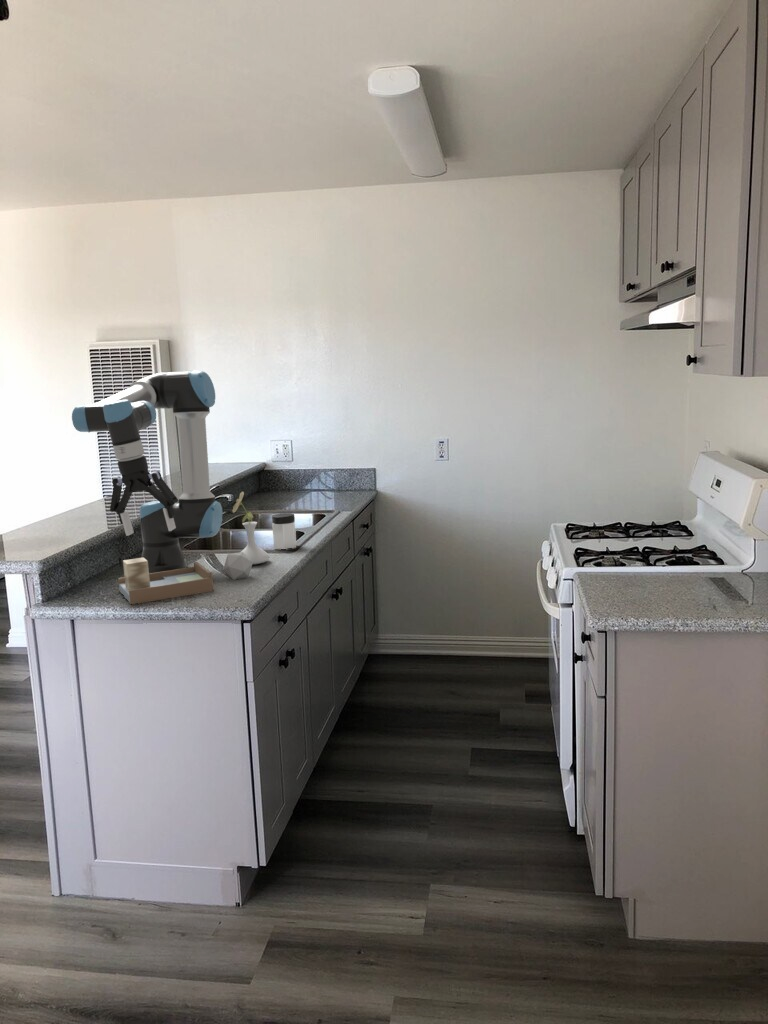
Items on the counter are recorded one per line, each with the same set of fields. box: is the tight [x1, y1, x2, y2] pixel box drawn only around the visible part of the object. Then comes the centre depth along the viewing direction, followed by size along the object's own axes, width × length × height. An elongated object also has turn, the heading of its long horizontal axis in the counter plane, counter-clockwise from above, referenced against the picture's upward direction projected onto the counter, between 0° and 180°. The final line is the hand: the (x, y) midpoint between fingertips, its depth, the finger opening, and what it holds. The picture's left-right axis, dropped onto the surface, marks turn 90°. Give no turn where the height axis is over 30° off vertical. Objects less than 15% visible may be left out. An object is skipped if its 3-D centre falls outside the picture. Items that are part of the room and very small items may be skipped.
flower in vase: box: [231, 491, 270, 566], centre depth 274 cm, size 13×11×25 cm
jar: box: [271, 512, 297, 550], centre depth 299 cm, size 9×8×12 cm
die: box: [222, 551, 253, 581], centre depth 257 cm, size 8×9×10 cm
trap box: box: [118, 561, 214, 605], centre depth 245 cm, size 24×18×6 cm
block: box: [122, 557, 150, 590], centre depth 241 cm, size 6×6×8 cm
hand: (151, 532), depth 227 cm, fingers open, 13 cm apart
